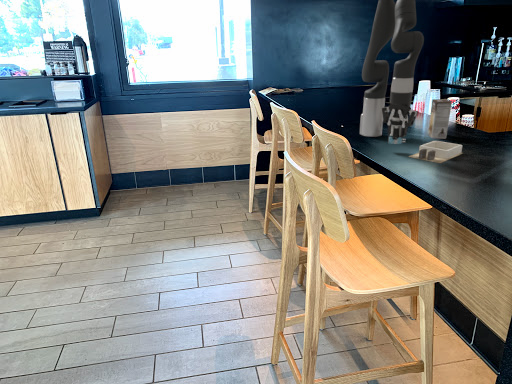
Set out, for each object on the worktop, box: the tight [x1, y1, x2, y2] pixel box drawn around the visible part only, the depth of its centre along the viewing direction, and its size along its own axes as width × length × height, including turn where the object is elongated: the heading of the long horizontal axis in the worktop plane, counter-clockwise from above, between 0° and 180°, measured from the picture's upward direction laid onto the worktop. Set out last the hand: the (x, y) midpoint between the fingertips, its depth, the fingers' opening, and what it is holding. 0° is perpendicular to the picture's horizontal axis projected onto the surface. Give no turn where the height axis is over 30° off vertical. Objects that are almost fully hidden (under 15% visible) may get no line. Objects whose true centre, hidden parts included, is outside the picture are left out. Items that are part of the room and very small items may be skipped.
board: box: [408, 149, 464, 164], centre depth 143 cm, size 12×18×4 cm, turn 130°
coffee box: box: [427, 98, 453, 140], centre depth 172 cm, size 9×6×16 cm
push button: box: [387, 117, 406, 145], centre depth 146 cm, size 7×5×10 cm
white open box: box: [418, 140, 463, 159], centre depth 145 cm, size 11×12×3 cm
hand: (396, 135), depth 148 cm, fingers closed on push button, 4 cm apart
